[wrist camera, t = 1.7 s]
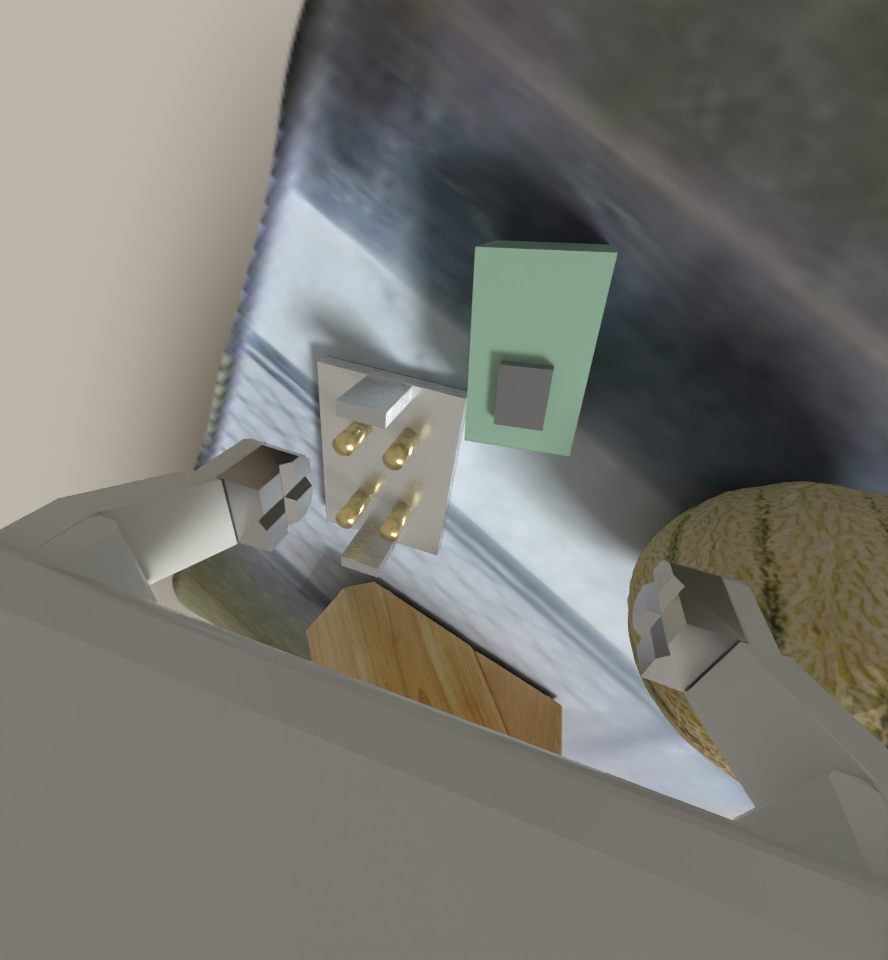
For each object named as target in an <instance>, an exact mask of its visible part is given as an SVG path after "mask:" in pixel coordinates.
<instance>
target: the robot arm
mask: <svg viewBox="0 0 888 960" xmlns="http://www.w3.org/2000/svg"><path fill="white" fill-rule="evenodd" d="M310 471H311V470H310V462H309V459H308V458H307V457H306V456H305V455H302V454H299V453H296V452H293V451H290V450H287V449H283V448H280V447H277V446H274V445H271V444H266V443H264V442H260V441H257V440H254V439H243V440H242V441H240V442H239V443H237V444H236V445H234V446H233V447H231V448H229V449H228V450H226V451H225V452H223V453H222V454H220V455H219V456H217V457H216V458H214V459H213V460H211V461H210V462H208V463H206V464H205V465H203V466H202V467H200V468H199V469H197V470H196V471H192V470H185V471H180V472H176V473H171V474H166V475H162V476H158V477H153V478H148V479H144V480H139V481H135V482H130V483H126V484H121V485H117V486H112V487H108V488H103V489H99V490H94V491H90V492H85V493H81V494H77V495H72V496H67V497H63V498H58V499H56V500H54V501H52V502H51V503H49V504H47V505H45V506H43V507H42V508H39V509H38V510H36V511H34V512H32V513H30V514H28V515H26V516H25V517H23V518H21V519H19V520H18V521H15V522H14V523H12V524H10V525H8V526H6V527H5V528H3V529H0V960H888V749H887V748H886V747H885V746H884V745H883V744H882V743H881V742H880V741H879V740H878V739H877V738H875V737H874V736H873V735H872V734H871V733H870V732H869V731H868V730H867V729H866V728H865V727H864V726H863V725H862V724H861V723H860V722H859V721H857V720H856V719H855V718H854V717H853V716H852V715H851V714H850V713H849V712H848V711H847V710H846V709H845V708H844V707H843V706H842V705H840V704H839V703H838V702H837V701H836V700H835V699H834V698H833V697H832V696H831V695H830V694H829V693H828V692H827V691H826V690H825V689H824V688H822V687H821V686H820V685H819V684H818V683H817V682H816V681H815V680H814V679H813V678H812V677H811V676H810V675H809V674H808V673H807V672H805V671H804V670H803V669H802V668H801V667H800V666H799V665H798V664H797V663H796V662H795V661H794V660H793V659H792V658H791V657H788V656H785V655H781V653H780V651H779V649H778V646H777V644H776V642H775V640H774V638H773V636H772V634H771V632H770V629H769V627H768V625H767V623H766V621H765V619H764V617H763V614H762V612H761V610H760V608H759V606H758V604H757V602H756V600H755V597H754V595H753V593H752V591H751V589H750V587H749V586H748V585H747V584H746V583H745V582H743V581H739V580H736V579H732V578H728V577H725V576H721V575H717V574H716V575H714V574H711V573H708V572H704V571H701V570H697V569H694V568H690V567H687V566H683V565H680V564H676V563H673V562H669V561H666V560H663V561H662V562H660V563H659V564H658V565H657V566H656V568H655V569H654V571H653V572H652V573H653V578H654V582H652V583H649V584H646V585H644V586H642V588H641V590H640V591H639V593H638V595H637V596H636V599H635V603H634V606H633V617H632V618H633V627H634V629H635V630H636V632H637V633H638V634H639V636H640V637H641V638H642V640H641V641H640V642H639V644H638V645H637V646H636V649H637V656H638V663H639V670H640V677H643V678H646V679H648V680H651V681H654V682H657V683H659V684H662V685H665V686H668V687H670V688H673V689H676V690H678V691H681V692H684V693H685V694H684V695H685V697H686V699H687V700H688V702H689V703H690V705H691V706H692V708H693V710H694V711H695V713H696V714H697V716H698V718H699V719H700V721H701V722H702V724H703V725H704V727H705V729H706V730H707V732H708V733H709V735H710V736H711V738H712V740H713V741H714V743H715V744H716V746H717V747H718V749H719V751H720V752H721V754H722V755H723V757H724V758H725V760H726V762H727V763H728V765H729V766H730V768H731V769H732V771H733V773H734V774H735V776H736V777H737V779H738V780H739V782H740V784H741V785H742V787H743V788H744V790H745V791H746V793H747V795H748V796H749V798H750V799H751V801H752V802H753V804H754V806H755V807H756V808H754V809H752V810H750V811H748V812H746V813H744V814H742V815H740V816H738V817H736V818H735V819H734V820H730V819H727V818H725V817H722V816H720V815H717V814H714V813H712V812H709V811H706V810H704V809H701V808H698V807H696V806H693V805H690V804H688V803H685V802H682V801H680V800H677V799H674V798H672V797H669V796H666V795H664V794H661V793H658V792H656V791H653V790H650V789H648V788H645V787H643V786H640V785H637V784H635V783H632V782H629V781H627V780H624V779H621V778H619V777H616V776H613V775H611V774H608V773H605V772H603V771H600V770H597V769H595V768H592V767H589V766H587V765H584V764H582V763H579V762H576V761H574V760H571V759H568V758H566V757H563V756H560V755H558V754H555V753H552V752H550V751H547V750H544V749H542V748H539V747H536V746H534V745H531V744H529V743H526V742H523V741H521V740H518V739H515V738H513V737H510V736H507V735H505V734H502V733H499V732H497V731H494V730H491V729H489V728H486V727H483V726H481V725H478V724H476V723H473V722H470V721H468V720H465V719H462V718H460V717H457V716H454V715H452V714H449V713H446V712H444V711H441V710H438V709H436V708H433V707H430V706H428V705H425V704H422V703H420V702H417V701H415V700H412V699H409V698H407V697H404V696H401V695H399V694H396V693H393V692H391V691H388V690H385V689H383V688H380V687H377V686H375V685H372V684H369V683H367V682H364V681H361V680H359V679H356V678H353V677H351V676H348V675H345V674H343V673H340V672H337V671H335V670H332V669H329V668H327V667H324V666H321V665H319V664H316V663H313V662H311V661H308V660H305V659H303V658H300V657H297V656H295V655H292V654H289V653H287V652H284V651H281V650H279V649H276V648H274V647H271V646H268V645H266V644H263V643H260V642H258V641H255V640H252V639H250V638H247V637H244V636H242V635H239V634H236V633H234V632H231V631H228V630H226V629H223V628H220V627H218V626H215V625H212V624H210V623H207V622H204V621H202V620H199V619H196V618H194V617H191V616H189V615H186V614H183V613H181V612H178V611H175V610H173V609H170V608H167V607H165V606H162V605H159V604H157V603H156V602H157V600H156V598H155V596H154V594H153V592H152V590H151V588H150V586H149V585H150V584H152V583H154V582H157V581H159V580H161V579H163V578H165V577H167V576H170V575H172V574H174V573H176V572H178V571H180V570H182V569H185V568H187V567H189V566H191V565H193V564H195V563H197V562H200V561H202V560H204V559H206V558H208V557H210V556H212V555H215V554H217V553H219V552H221V551H223V550H225V549H227V548H230V547H232V546H234V545H236V544H237V542H239V543H242V544H246V545H249V546H252V547H256V548H259V549H262V550H265V551H269V552H271V551H272V550H273V549H274V548H275V547H276V546H277V544H278V543H279V542H280V541H281V540H282V539H283V538H284V537H285V536H286V535H287V534H288V525H290V524H293V523H295V522H298V521H300V519H301V518H302V517H303V516H304V515H305V514H306V512H307V510H308V508H309V506H310V504H311V499H312V485H311V484H310V482H309V481H308V479H307V478H306V475H307V474H308V473H309V472H310Z"/></svg>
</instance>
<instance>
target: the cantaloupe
mask: <svg viewBox="0 0 888 960" xmlns="http://www.w3.org/2000/svg"><path fill="white" fill-rule="evenodd" d="M663 560H666V561H669V562H673V563H676V564H680V565H683V566H687V567H690V568H694V569H697V570H701V571H704V572H708V573H711V574H714V575H716V574H717V575H721V576H725V577H728V578H732V579H736V580H739V581H743V582H745V583H746V584H747V585H748V586H749V587H750V589H751V591H752V593H753V595H754V597H755V600H756V602H757V604H758V606H759V608H760V610H761V612H762V614H763V617H764V619H765V621H766V623H767V625H768V627H769V629H770V632H771V634H772V636H773V638H774V640H775V642H776V644H777V646H778V649H779V651H780V653H781V655H785V656H788V657H791V658H792V659H793V660H794V661H795V662H796V663H797V664H798V665H799V666H800V667H801V668H802V669H803V670H804V671H805V672H807V673H808V674H809V675H810V676H811V677H812V678H813V679H814V680H815V681H816V682H817V683H818V684H819V685H820V686H821V687H822V688H824V689H825V690H826V691H827V692H828V693H829V694H830V695H831V696H832V697H833V698H834V699H835V700H836V701H837V702H838V703H839V704H840V705H842V706H843V707H844V708H845V709H846V710H847V711H848V712H849V713H850V714H851V715H852V716H853V717H854V718H855V719H856V720H857V721H859V722H860V723H861V724H862V725H863V726H864V727H865V728H866V729H867V730H868V731H869V732H870V733H871V734H872V735H873V736H874V737H875V738H877V739H878V740H879V741H880V742H881V743H882V744H883V745H884V746H885V747H886V748H887V749H888V496H886V495H882V494H878V493H874V492H866V491H862V490H857V489H850V488H846V487H844V486H841V485H833V484H825V483H815V482H802V481H798V482H783V483H777V484H770V485H766V486H758V487H751V488H742V489H738V490H734V491H727V492H724V493H722V494H720V495H718V496H716V497H714V498H711V499H708V500H706V501H705V502H703V503H701V504H699V505H697V506H694V507H692V508H690V509H689V510H687V511H686V512H684V513H682V514H681V515H679V516H677V517H676V518H674V519H673V520H671V521H670V522H669V523H667V524H666V525H665V526H664V527H663V528H662V529H661V530H660V531H659V532H658V533H656V534H655V535H654V537H653V538H652V539H651V540H650V541H649V542H648V543H647V545H646V546H645V548H644V549H643V551H642V552H641V554H640V556H639V558H638V561H637V563H636V566H635V568H634V570H633V574H632V578H631V581H630V590H629V596H628V599H627V600H628V609H629V612H628V631H629V638H630V642H631V647H632V651H633V655H634V660H635V663H636V665H637V668H638V670H639V663H638V656H637V649H636V646H637V645H638V644H639V642H640V641H641V640H642V638H641V637H640V636H639V634H638V633H637V632H636V630H635V629H634V627H633V618H632V617H633V606H634V603H635V599H636V596H637V595H638V593H639V591H640V590H641V588H642V586H644V585H646V584H649V583H652V582H654V578H653V573H652V572H653V571H654V569H655V568H656V566H657V565H658V564H659V563H660V562H662V561H663ZM639 673H640V670H639ZM642 680H643V682H644V684H645V687H646V688H647V690H648V692H649V693H650V695H651V696H652V698H653V700H654V701H655V703H656V704H657V706H658V707H659V709H660V710H661V711H662V713H663V714H664V716H665V717H666V718H667V720H668V721H669V722H670V723H671V725H672V726H673V727H674V728H675V729H676V731H677V732H678V733H679V734H680V735H681V736H682V737H683V738H684V739H685V740H686V741H687V742H688V743H689V744H690V745H692V746H693V747H694V748H695V749H696V750H698V751H699V752H700V753H701V754H702V755H703V756H705V757H706V758H707V759H709V760H710V761H711V762H713V763H714V764H715V765H717V766H718V767H720V768H721V769H722V770H724V771H725V772H726V773H728V774H729V775H730V776H732V777H733V778H734V779H736V780H737V781H738V782H739V780H738V779H737V777H736V776H735V774H734V773H733V771H732V769H731V768H730V766H729V765H728V763H727V762H726V760H725V758H724V757H723V755H722V754H721V752H720V751H719V749H718V747H717V746H716V744H715V743H714V741H713V740H712V738H711V736H710V735H709V733H708V732H707V730H706V729H705V727H704V725H703V724H702V722H701V721H700V719H699V718H698V716H697V714H696V713H695V711H694V710H693V708H692V706H691V705H690V703H689V702H688V700H687V699H686V697H685V695H684V694H685V693H684V692H681V691H678V690H676V689H673V688H670V687H668V686H665V685H662V684H659V683H657V682H654V681H651V680H648V679H646V678H643V677H642Z"/></svg>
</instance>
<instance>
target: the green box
mask: <svg viewBox="0 0 888 960" xmlns="http://www.w3.org/2000/svg"><path fill="white" fill-rule="evenodd" d="M616 258H617V252H616V251H615V249H614V248H613V247H612V246H611V245H609V244H582V243H556V242H529V241H503V240H495V241H492V242H489V243H485V244H482V245H479V246H476V247H475V260H474V278H473V297H472V315H471V333H470V352H469V370H468V389H467V407H466V425H465V440H466V441H472V442H479V443H485V444H492V445H498V446H505V447H511V448H518V449H524V450H531V451H537V452H544V453H550V454H557V455H563V456H570V452H571V448H572V443H573V439H574V435H575V431H576V427H577V422H578V418H579V414H580V410H581V405H582V401H583V397H584V393H585V389H586V384H587V380H588V376H589V372H590V367H591V363H592V359H593V355H594V350H595V346H596V342H597V338H598V334H599V329H600V325H601V321H602V317H603V312H604V308H605V304H606V300H607V296H608V291H609V287H610V283H611V279H612V274H613V270H614V266H615V262H616Z"/></svg>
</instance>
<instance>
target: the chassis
mask: <svg viewBox="0 0 888 960" xmlns="http://www.w3.org/2000/svg"><path fill="white" fill-rule="evenodd" d="M317 370H318V386H319V402H320V419H321V435H322V451H323V468H324V484H325V500H326V517H327V521H330V522H333V523H336V524H339V525H340V526H341V527H343V528H347V529H348V528H352V529H355V530H359V531H358V533H357V534H356V536H355V537H354V538H353V540H352V541H351V543H350V544H349V546H348V547H347V548H346V550H345V551H344V553H343V554H342V556H341V566H344V567H347V568H350V569H353V570H356V571H359V572H362V573H365V574H368V575H371V576H374V577H377V578H378V576H379V574H380V572H381V570H382V569H383V567H384V565H385V563H386V561H387V560H388V558H389V556H390V554H391V552H392V551H393V549H394V547H395V545H396V544H397V543H400V544H403V545H406V546H409V547H412V548H415V549H419V550H422V551H425V552H428V553H431V554H434V555H437V554H438V552H439V550H440V547H441V544H442V539H443V533H444V528H445V523H446V517H447V512H448V507H449V501H450V496H451V491H452V485H453V480H454V475H455V469H456V464H457V459H458V453H459V448H460V443H461V438H462V432H463V427H464V422H465V416H466V407H467V391H465V390H461V389H457V388H453V387H449V386H445V385H441V384H437V383H433V382H429V381H425V380H421V379H417V378H413V377H408V376H404V375H400V374H396V373H392V372H388V371H384V370H380V369H376V368H372V367H368V366H364V365H360V364H356V363H352V362H348V361H344V360H340V359H336V358H332V357H328V356H326V357H324V358H323V359H321V360H319V361H317Z"/></svg>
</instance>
